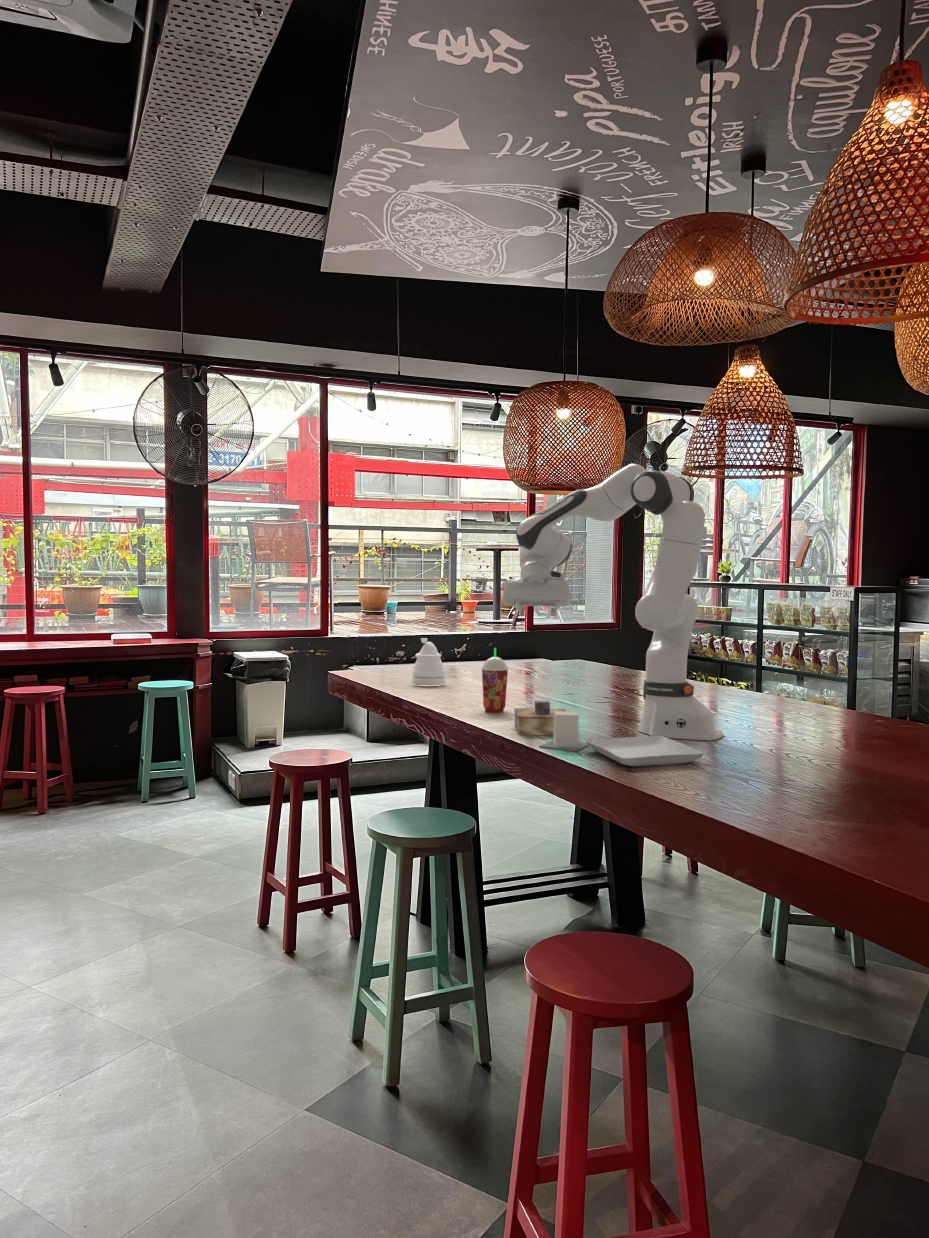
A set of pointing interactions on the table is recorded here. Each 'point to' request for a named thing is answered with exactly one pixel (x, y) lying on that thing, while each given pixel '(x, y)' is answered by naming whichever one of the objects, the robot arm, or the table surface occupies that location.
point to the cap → (566, 729)
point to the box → (535, 719)
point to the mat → (551, 746)
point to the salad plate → (645, 750)
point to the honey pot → (428, 666)
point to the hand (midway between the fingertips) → (537, 614)
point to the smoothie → (494, 684)
